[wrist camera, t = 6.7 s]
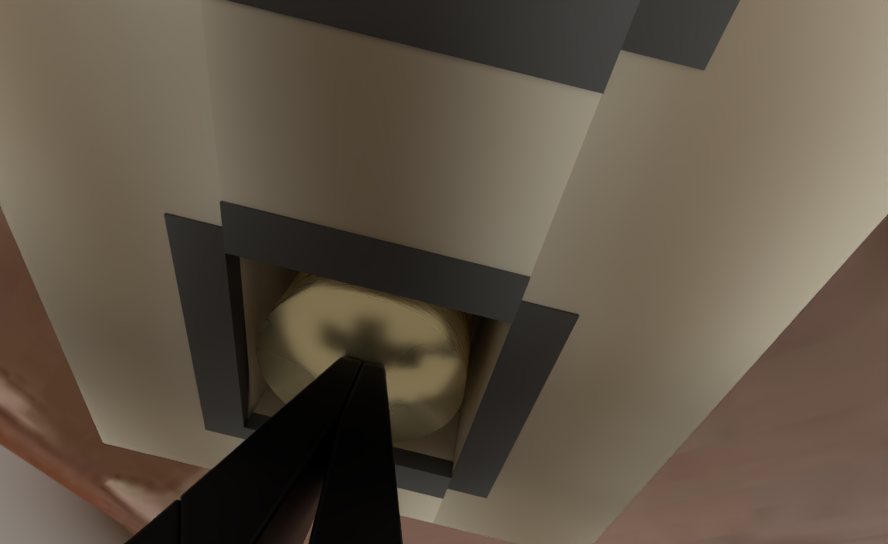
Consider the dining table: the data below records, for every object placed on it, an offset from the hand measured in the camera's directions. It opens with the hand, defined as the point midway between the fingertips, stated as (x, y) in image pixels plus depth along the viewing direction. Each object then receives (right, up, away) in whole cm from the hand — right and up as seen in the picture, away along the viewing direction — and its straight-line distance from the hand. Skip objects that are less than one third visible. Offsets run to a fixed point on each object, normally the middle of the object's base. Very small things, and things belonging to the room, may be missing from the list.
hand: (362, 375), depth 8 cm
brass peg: (+1, +3, +5) cm, 6 cm away
